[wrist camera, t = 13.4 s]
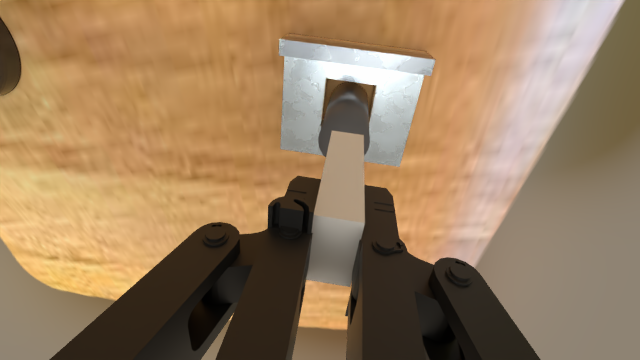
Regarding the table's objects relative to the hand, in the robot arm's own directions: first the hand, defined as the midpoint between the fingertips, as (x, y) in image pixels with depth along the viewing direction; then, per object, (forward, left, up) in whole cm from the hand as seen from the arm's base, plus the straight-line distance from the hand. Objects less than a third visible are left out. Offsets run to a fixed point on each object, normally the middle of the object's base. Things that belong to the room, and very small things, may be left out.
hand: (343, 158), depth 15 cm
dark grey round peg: (0, -5, -26) cm, 27 cm away
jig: (0, -5, -26) cm, 27 cm away
